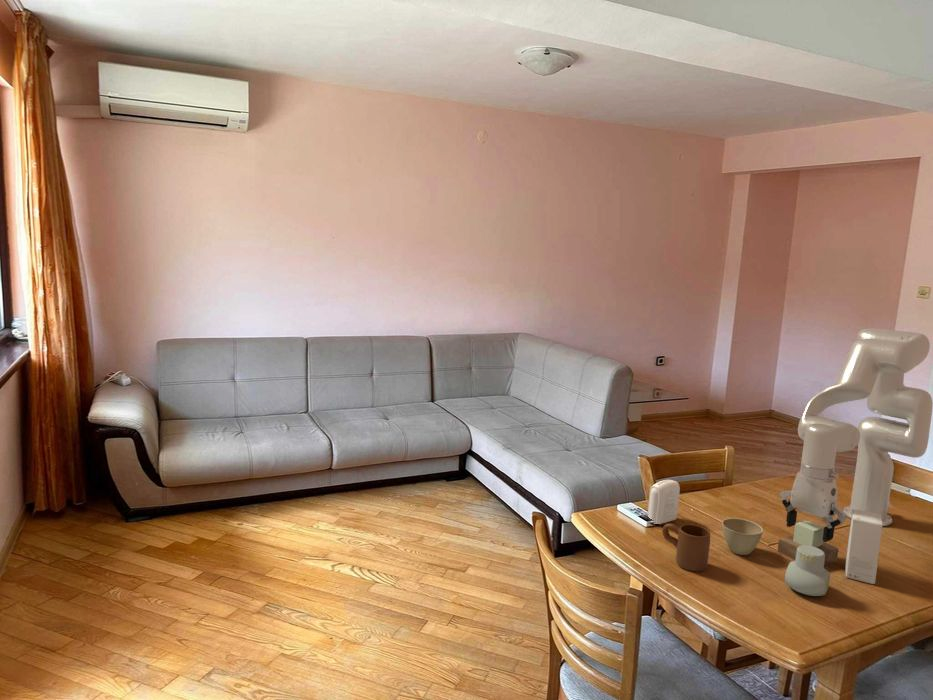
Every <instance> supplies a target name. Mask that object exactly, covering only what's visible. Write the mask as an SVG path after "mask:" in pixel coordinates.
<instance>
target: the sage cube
mask: <svg viewBox="0 0 933 700" xmlns="http://www.w3.org/2000/svg"><path fill="white" fill-rule="evenodd" d="M824 527H825V526H823V525H820V524H818V523H814V522H812V521H810V520H808V519H805V520H802V521H799V522H796V523H795V525H794V530H793V535H794V538H793V541H794V542H796V543H799V544H801V545H808V546H813V547H818V546H821V545H822V544H823V542H824V541H823V540H822V539H823V532H824Z"/></svg>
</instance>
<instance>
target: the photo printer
mask: <svg viewBox="0 0 933 700" xmlns="http://www.w3.org/2000/svg"><path fill="white" fill-rule="evenodd" d="M680 490H681V487H680V484H679V482H678V481H676V480H672V479H664V480H661V481H657V482H656V483H655V484H653V485H652V486H650V488H649V496H648V505H647V515H646V517H647V516H648V517H649V518H650V519H652V520H654V521H656V523H657V524H659V525H663V524H667V523H669V522H672V521H675V520H677V519H678V510H679V500H680V492H681V491H680Z"/></svg>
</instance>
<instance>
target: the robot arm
mask: <svg viewBox="0 0 933 700" xmlns="http://www.w3.org/2000/svg"><path fill="white" fill-rule="evenodd" d="M930 345H931V343H930V340H929V338H928V337H927V336H926V335H925V334H923V333H920V332H912V331H902V330H895V329H888V328H887V329H886V328H879V327H878V328H876V327H870V328H864V329H860V330H859V332H858V333H857V335H856V341H854V342H853V344H852V345H851V347H850V349H849V351H848V353H847V356H846V358H845V360H844V363H843V364H842V368H841V370H840V373H839V374H838V377H837V379H836V381H835V383H833V384H831V385H830V386H827V387H826V388H824V389H822V390H820V391H819V392H818V393H816V394H815V395H814V396H813V397H811V398H810V400H809V401H808V402H807V403H806V405H805V407H804V410H803V412H802V415H801V417H800V419H799V422H798V426H797V434H798V437H799V438H800V439H801V440H802V441H803V445H802V446H803V447H802V454H801V462H800V470H799V471H797V473H796V476H795V478H794V482H793V485H792V488H791V490H784V491H781V492H779V495H780V499H781V503H782V505H783V506H784V507H785V512H786V520H785V521H786V527H788V528H790V527H793V526H794V527H795V523H797V516H798V511H801V512H804V513H806V514H809V515H812V516H814V517H817V518H819V519H822V521H823V522H824V524H825V526H823V527H824V532H823V539H822V540H823V542H825V543H827V542H830V541H832V539H833V538H834V535H835V528H836V527H837V526H839V525H841V524H843V523H844V522H845V521H846V519H847V518H849V519H851V515H852V509H856V510H861V511H866V512H871V513H877V514H881V517H882V527H888V526H890V525H891V524H892V523H893V519H892V516H890V515H889V514H888V510H889V508H891V507H892V504H891V502H890V495H891V488H892V485H893V484H892V482H893V477H894V470H895V465H894V462H893V460H892V457H891V456H890V454H889V453H891V454H892V453H893V454H896V455H899V456H904V457H909V458H913V459H914V458H920V457H922V456H924V455H925V453H926V451H927V448H928V445H929V444H928V443H929V439H930V438H929V437H930V432H931V431H930V430H931V423H932V415H933V398H932V395H931V394H930V392H928V391H926V390H924V389H921V388H918V387H911V386H905V384H904V379H905V374H907V373H908V372H910V371H912V370H914V368H916V367H918V365H920V364H922V363H923V362H924V361H925V359H926V358H927V357H928V355H929V353H930V348H931V347H930ZM864 399H866V407H867V409H868V410H869V411H871V413H874V414H878V415H881V416H887V417H891V418H897V419H901V420H904V421H905V420H906V421H907V422H904V421H898V420H893V419H889V418H884V417H879V416H867V417H865V418H863V419H861V420H860V422H858V425H857V426H855V425H853V424H851V423H848V422H845V421H840V420H836V419H831V418H826V417H822V416H820V415H821V414H822V413H823V412H824V411H825V410H826V409H827V408H829V407H832V406H834V405H838V404H842V403H848V402H854V401H860V400H864ZM855 448H857V458H856V465H855V471H854V479H853V484H852V485H853V486H852V492H851V499H850V505H849V506H845V507H844V508H843V509H841V508H840V507H839V505H838V485H837V484H838V483H837V480H836V479H838V478H839V473H838V472H836V469H835V463H836V457H837V453H840V452H841V453H842V452H843V453H844V452H850V451H852V450H854V449H855ZM789 497H790V499H789ZM797 510H798V511H797ZM836 515H837V518H836V519H835V518H834V516H836Z"/></svg>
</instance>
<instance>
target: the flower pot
mask: <svg viewBox="0 0 933 700" xmlns="http://www.w3.org/2000/svg"><path fill="white" fill-rule="evenodd" d="M721 527H722V533H723V534H722V535H723V537H724V540H725V543H726V546H727V548H728V549H729V551H730V552H731V553H733V554H736V555H738V556H739V555H740V556H748V555H750V554H751V553H752V552H753V551H754V550H755V548H756V547H757V545H758V544H759V542H760V540H761V538H762V535H763V531H764V529H763V527H762V526H761V525H759V524H758V523H756V522H755V521H751V520H748V519H744V518H736V517H734V518H733V517H730V518H724V519H723V520H722V521H721Z"/></svg>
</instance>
